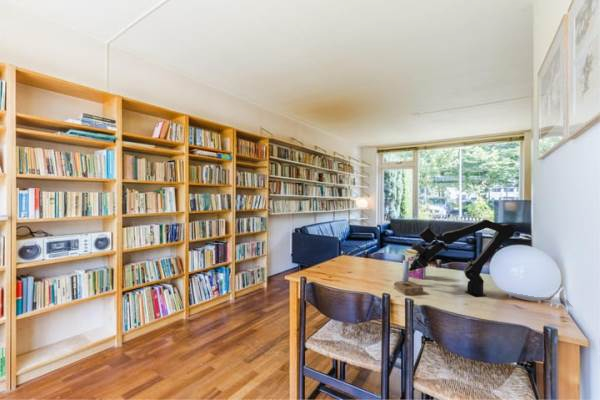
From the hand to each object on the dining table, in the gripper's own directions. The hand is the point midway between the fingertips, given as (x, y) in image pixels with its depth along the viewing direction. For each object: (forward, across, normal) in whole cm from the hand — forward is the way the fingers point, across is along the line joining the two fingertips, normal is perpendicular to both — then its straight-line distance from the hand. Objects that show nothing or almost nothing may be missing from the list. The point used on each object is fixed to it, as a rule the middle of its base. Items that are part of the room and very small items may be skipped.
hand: (410, 268), depth 153 cm
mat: (+8, -2, +6) cm, 10 cm away
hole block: (+7, +11, +7) cm, 15 cm away
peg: (+8, 0, +5) cm, 10 cm away
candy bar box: (+6, -18, +8) cm, 21 cm away
